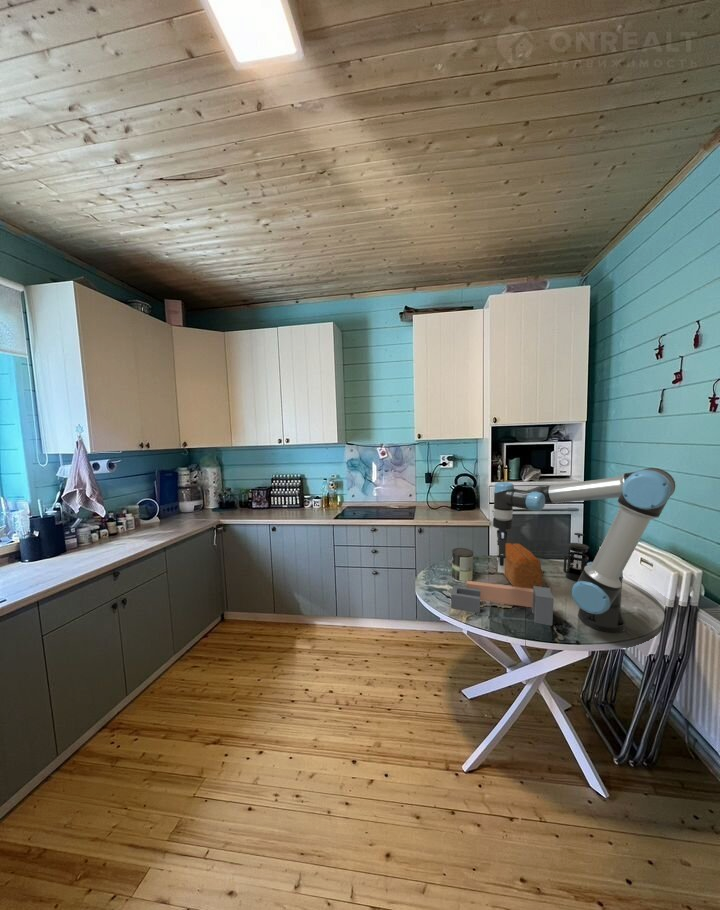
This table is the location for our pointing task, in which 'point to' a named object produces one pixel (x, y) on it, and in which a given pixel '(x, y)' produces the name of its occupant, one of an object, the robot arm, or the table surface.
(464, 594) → the far end cap
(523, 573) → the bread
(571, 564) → the french press
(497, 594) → the slat
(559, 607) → the table surface
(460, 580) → the coffee can
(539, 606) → the cap
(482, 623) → the table surface
